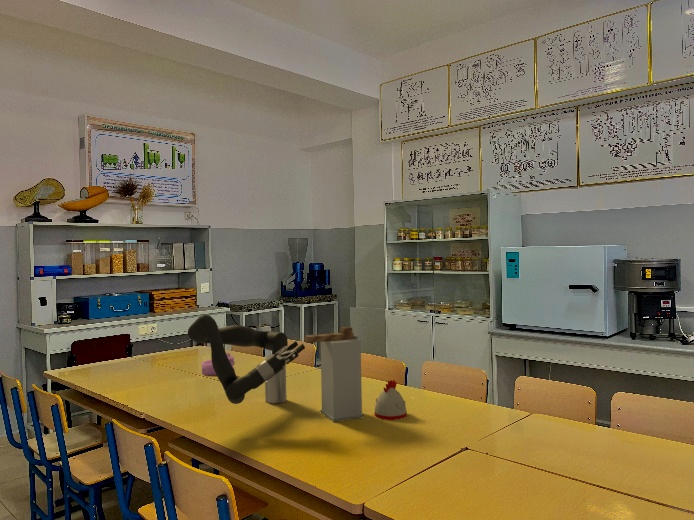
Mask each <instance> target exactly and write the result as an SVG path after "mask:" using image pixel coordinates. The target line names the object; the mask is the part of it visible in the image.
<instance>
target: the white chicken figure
mask: <svg viewBox="0 0 694 520" xmlns="http://www.w3.org/2000/svg"><path fill="white" fill-rule="evenodd" d="M397 384H398V382H397V381H395V379H392V380H387V383H385V387H383V390H382V391H381V392H380V393H379V395H378V396H377V398H375V405H374V417H375V416H376V417H375V418H377V417H378V418H377V419H379V418H381V419H380V420H384V419H386V420H385V421H396V420H395V419H398V420H401V418H402V419H404V417H405V418H406V417H407V416H408V415H407V413H408V412H407V407H406V401H405V400H404V398H403V396H402V395H401V393H400V392H399V391H398V390H397V389H396V387H397ZM406 415H407V416H406Z"/></svg>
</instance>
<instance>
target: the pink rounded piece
mask: <svg viewBox="0 0 694 520" xmlns="http://www.w3.org/2000/svg"><path fill="white" fill-rule="evenodd" d="M226 354H227V357H228V359H229V361H230V363H231V365H232V367H233V369H234V371H235V372H236V370H235V367H234V366H235V363H236V362H235V357H234V355H231V353H230V352H226ZM201 375H204V376H217V375H216V373H215V371H214V369H213V366H212V359H209V360H204V361H202V362H201Z"/></svg>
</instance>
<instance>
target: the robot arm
mask: <svg viewBox="0 0 694 520" xmlns="http://www.w3.org/2000/svg"><path fill="white" fill-rule="evenodd" d="M187 335H188V337H189V338H190V339H191V340H192V341H193V342H195V343H199V344H209V345H210V353H211V356H210V357H211V360H212V366H213V369H214V371H215V373H216V375H215V376H217V379H218V381H219V383H220V384H221V385H222V388H223V391H224V393H225V396H226V398H227V400H228V401H229V402H230V403H232V404H234V405H238V404H241V403H242V402H243V401H244V400H245V397H246V394H247V393H248V392H250V391H251V390H255V389H257V388H260V387H261V385H263V384H264V391H265V392H264V394H265V395H264V396H265V402H266V403H267V402H268V403H269V404H281V403H285V402H287V365H289V364H290V363H291V362H293V361H294V360H296V359H297V358H299V357H300V355H299V354H300V353H301V352H303V351H304V350H305V349H306V346H305V345H304V344H303V343H301V344H299V343H298V341H296V340H294V341H293V342H292V343H291V344H288V342H289V341H288V336H287V334H285V333H284V332H281V331H273V330H269V331H267V330H261V331H260V330H256V329H254V328H253V327H249V326H245V325H241V324H231V325H228V326H224V327H219V326H218V324H217V322H216V320H215V319H214V318H213V317H212V316H211V315H209V314H202V315H200V316H199V317H198V318H197V319H195V320H194V321H193V323H192V324H191V325H190V326H189V327H188V330H187ZM224 345H229V346H233V347H244V348H248V347H256V348H262V349H265V350H268V351H272V354H271V355H269V356H268V357H267V358H264V360H262V361H261V362H259V364H257V365H256V366H255V367H254V368H253V369H251V370H250V371H248V372H247V374H245V375H242V376H241V377H239V378H238V377H237V375H236V370H235V371H234V369H235V368H234V366H233V367H232V365H231V363H230V361H229V359H228V357H227V354H226V353H227V352H226V349H225V346H224ZM233 368H234V369H233Z"/></svg>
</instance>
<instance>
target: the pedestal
mask: <svg viewBox="0 0 694 520" xmlns="http://www.w3.org/2000/svg"><path fill="white" fill-rule="evenodd" d="M361 342H362V341H361V339H359V337H358V335H355V334H354V339H348V340H336V341H325V342H320V373H321V374H320V376H321V377H320V378H321V379H320V380H321V382H320V383H321V384H320V385H321V409H320V410H319V412H321V413H320V414H321V415H323V414H324V415H325V416H324V415H323V416H324V417H326V418H327V417H328V418H329V419H330V420H329V419H328V418H327V419H328V420H329V421H331V420H332V421H333V422H332V421H331V422H332V423H335V422H334V421H338V422H343V421H342V420H345V421H349V420H348V419H351V420H355V419H354V418H358V419H363V418H362V417H365V416H364V414H363V399H362V398H363V397H362V394H363V393H362V389H363V387H362V346H361V345H362V343H361Z"/></svg>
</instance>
